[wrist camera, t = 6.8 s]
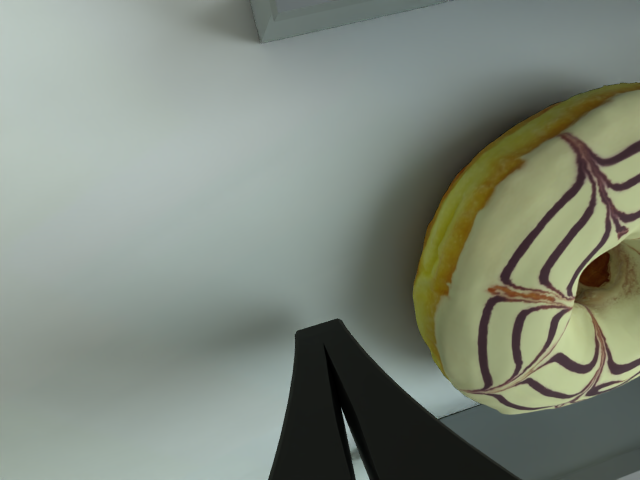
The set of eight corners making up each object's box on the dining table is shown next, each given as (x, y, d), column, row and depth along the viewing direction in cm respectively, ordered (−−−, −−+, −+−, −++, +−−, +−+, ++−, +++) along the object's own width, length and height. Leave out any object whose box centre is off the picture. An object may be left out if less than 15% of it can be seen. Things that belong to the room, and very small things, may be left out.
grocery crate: (677, 349, 17) (797, 421, 13) (365, 459, 15) (403, 577, 12) (895, -152, 8) (1394, -333, 5) (245, -16, 7) (245, -132, 3)
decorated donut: (579, 346, 15) (671, 420, 12) (367, 357, 13) (410, 455, 9) (720, 112, 11) (925, 125, 8) (446, 57, 8) (575, 40, 5)
